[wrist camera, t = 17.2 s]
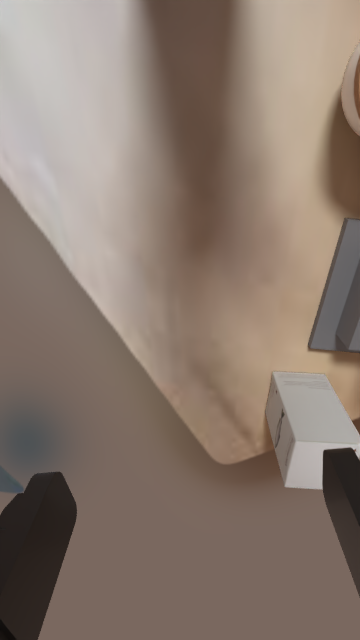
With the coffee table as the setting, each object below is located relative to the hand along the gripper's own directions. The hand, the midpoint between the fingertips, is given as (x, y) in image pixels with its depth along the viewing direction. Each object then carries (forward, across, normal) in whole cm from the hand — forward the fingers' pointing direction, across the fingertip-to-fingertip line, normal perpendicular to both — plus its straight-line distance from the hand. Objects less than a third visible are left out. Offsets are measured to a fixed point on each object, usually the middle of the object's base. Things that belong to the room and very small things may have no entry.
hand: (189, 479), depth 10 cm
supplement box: (+32, -10, +24) cm, 41 cm away
